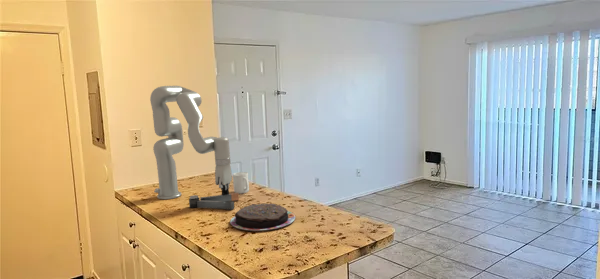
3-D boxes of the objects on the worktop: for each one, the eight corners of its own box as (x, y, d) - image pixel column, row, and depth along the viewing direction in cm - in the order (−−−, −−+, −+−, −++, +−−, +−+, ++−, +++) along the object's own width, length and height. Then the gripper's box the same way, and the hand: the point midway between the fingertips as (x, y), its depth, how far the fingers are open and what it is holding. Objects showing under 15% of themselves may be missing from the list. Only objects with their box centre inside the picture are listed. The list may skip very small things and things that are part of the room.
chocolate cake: (307, 215, 179) (306, 201, 178) (271, 237, 155) (270, 221, 154) (256, 208, 193) (255, 195, 192) (216, 227, 170) (215, 212, 169)
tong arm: (190, 207, 198) (189, 197, 197) (190, 204, 202) (189, 195, 202) (239, 201, 204) (238, 191, 203) (238, 198, 209) (237, 189, 208)
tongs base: (186, 208, 198) (186, 200, 197) (193, 204, 203) (192, 197, 203) (231, 210, 191) (231, 202, 190) (237, 206, 196) (236, 198, 195)
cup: (245, 188, 230) (243, 171, 228) (254, 193, 220) (253, 174, 218) (231, 191, 225) (230, 173, 224) (240, 195, 215) (239, 177, 214)
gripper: (222, 159, 214) (225, 192, 216) (209, 164, 200) (212, 200, 202) (235, 159, 212) (238, 193, 214) (222, 164, 198) (225, 201, 200)
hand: (225, 196), depth 208 cm, fingers closed
